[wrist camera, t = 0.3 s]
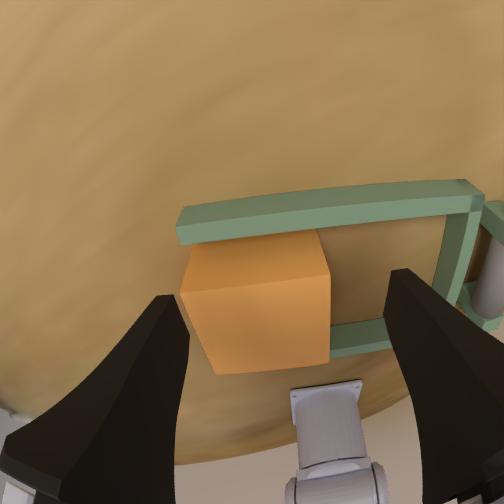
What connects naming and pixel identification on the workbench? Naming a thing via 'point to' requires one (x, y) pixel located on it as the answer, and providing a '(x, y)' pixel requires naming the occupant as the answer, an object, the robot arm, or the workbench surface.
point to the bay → (372, 210)
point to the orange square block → (260, 301)
